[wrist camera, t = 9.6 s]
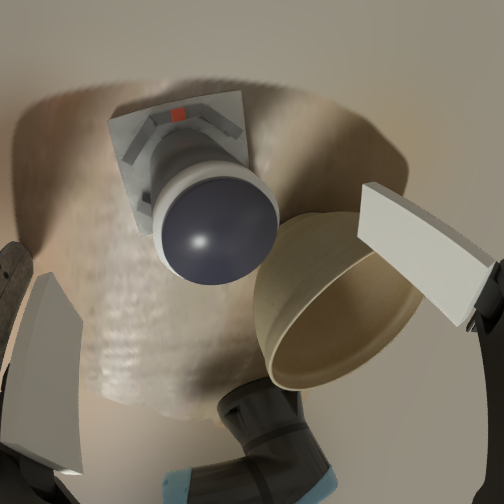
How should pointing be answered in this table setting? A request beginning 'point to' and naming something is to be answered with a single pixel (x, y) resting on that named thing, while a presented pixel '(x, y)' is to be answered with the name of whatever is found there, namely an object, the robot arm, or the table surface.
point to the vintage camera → (12, 287)
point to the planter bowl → (326, 301)
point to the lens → (208, 210)
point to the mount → (164, 123)
